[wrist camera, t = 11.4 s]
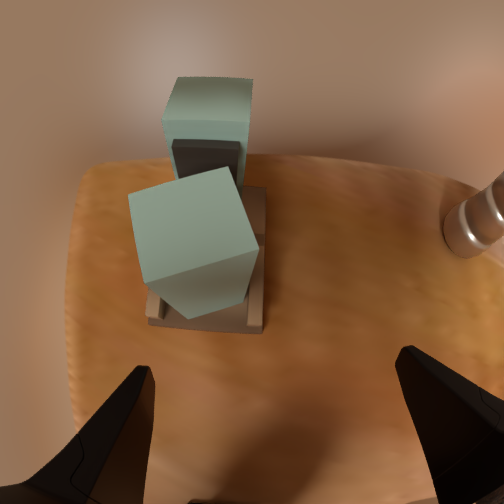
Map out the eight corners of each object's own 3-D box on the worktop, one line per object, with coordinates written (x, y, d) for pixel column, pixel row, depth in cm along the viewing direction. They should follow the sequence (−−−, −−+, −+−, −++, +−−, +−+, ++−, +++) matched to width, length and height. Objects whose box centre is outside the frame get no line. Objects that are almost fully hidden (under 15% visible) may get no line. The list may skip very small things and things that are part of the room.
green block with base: (260, 334, 22) (301, 313, 10) (151, 325, 22) (70, 292, 9) (264, 193, 27) (290, 83, 14) (171, 187, 26) (143, 79, 14)
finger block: (242, 302, 22) (259, 248, 11) (187, 319, 21) (144, 283, 10) (225, 249, 23) (224, 156, 12) (172, 265, 22) (126, 183, 11)
